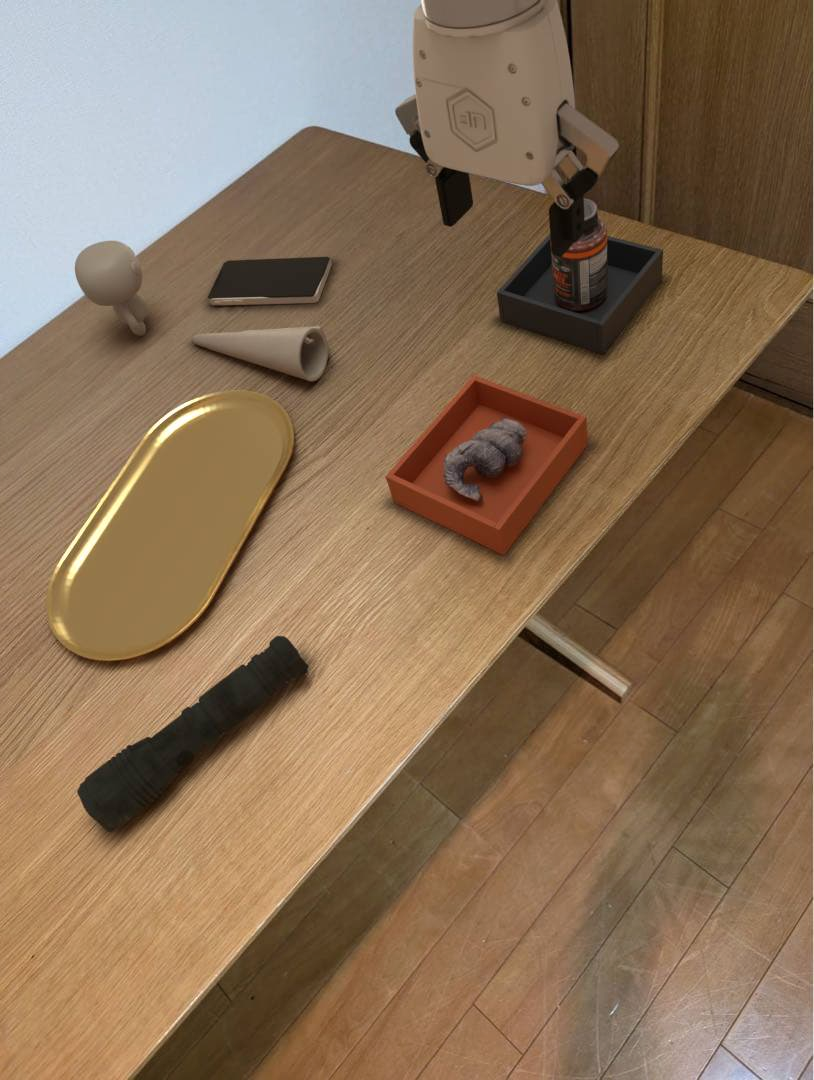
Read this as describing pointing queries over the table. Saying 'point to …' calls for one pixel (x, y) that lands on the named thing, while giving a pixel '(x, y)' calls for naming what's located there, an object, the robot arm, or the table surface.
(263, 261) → the smartphone
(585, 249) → the supplement bottle
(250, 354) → the long tapered cone
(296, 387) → the table surface
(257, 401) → the serving platter
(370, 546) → the table surface
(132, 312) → the figurine
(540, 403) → the terracotta bin
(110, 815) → the flashlight
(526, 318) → the slate bin
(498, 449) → the grey curved ribbed piece
